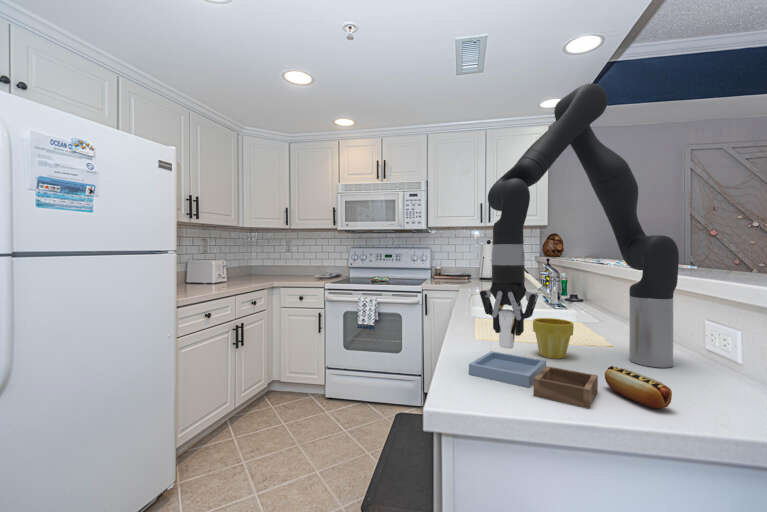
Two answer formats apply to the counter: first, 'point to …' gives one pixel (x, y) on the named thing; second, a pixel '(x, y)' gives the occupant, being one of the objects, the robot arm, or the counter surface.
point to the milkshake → (506, 328)
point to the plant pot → (552, 336)
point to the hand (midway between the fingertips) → (507, 333)
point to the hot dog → (638, 387)
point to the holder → (566, 386)
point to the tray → (507, 368)
